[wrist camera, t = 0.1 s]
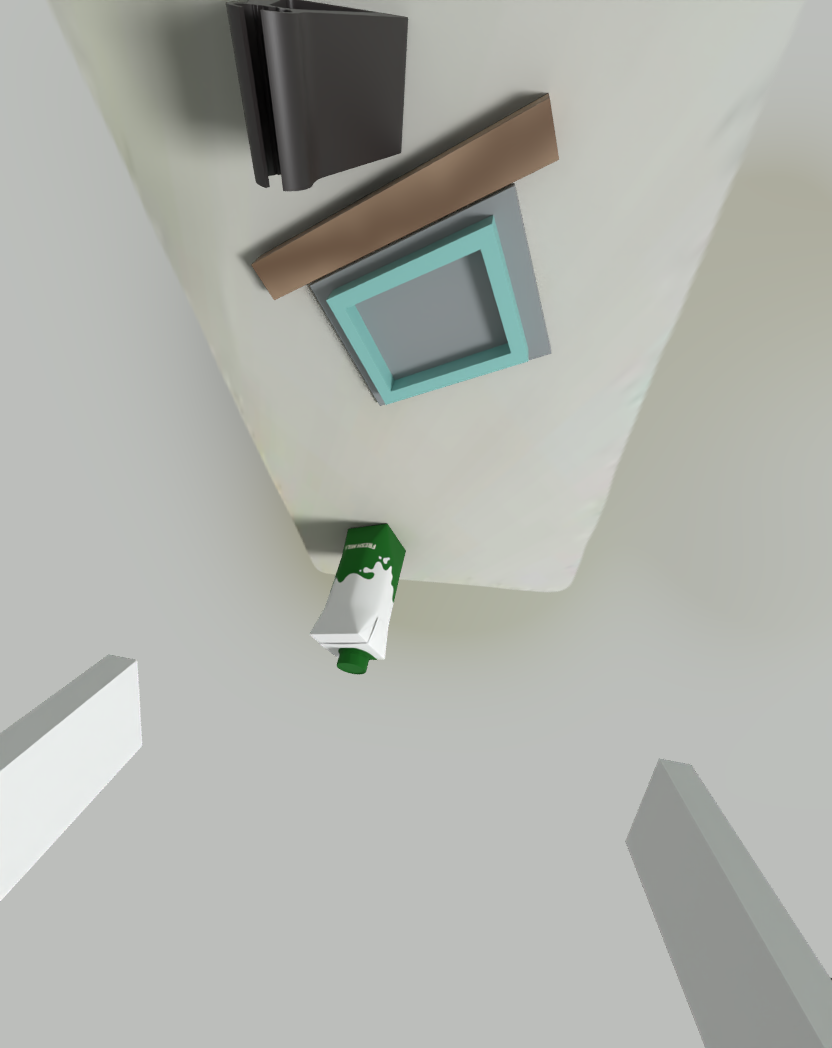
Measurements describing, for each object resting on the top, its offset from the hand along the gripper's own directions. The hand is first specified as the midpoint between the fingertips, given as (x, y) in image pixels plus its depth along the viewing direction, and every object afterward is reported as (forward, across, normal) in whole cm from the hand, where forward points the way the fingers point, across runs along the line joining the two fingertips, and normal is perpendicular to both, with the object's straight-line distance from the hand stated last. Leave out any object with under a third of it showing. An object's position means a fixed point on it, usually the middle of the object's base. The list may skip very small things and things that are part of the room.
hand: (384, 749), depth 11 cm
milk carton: (+54, -8, -14) cm, 56 cm away
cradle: (+33, -3, +16) cm, 36 cm away
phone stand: (+25, -11, +27) cm, 38 cm away
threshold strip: (+28, -7, +22) cm, 36 cm away
